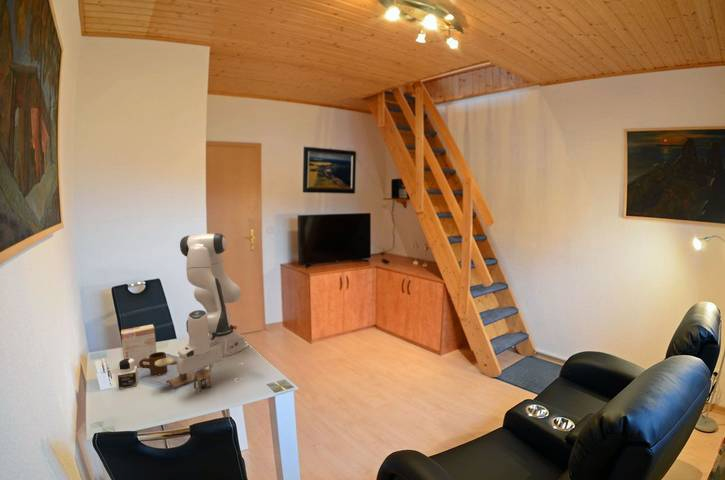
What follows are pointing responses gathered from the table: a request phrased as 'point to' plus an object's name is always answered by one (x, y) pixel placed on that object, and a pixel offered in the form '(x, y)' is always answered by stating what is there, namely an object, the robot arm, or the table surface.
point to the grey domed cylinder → (203, 384)
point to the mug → (152, 359)
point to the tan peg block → (202, 377)
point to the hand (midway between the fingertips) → (201, 376)
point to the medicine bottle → (127, 374)
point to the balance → (177, 381)
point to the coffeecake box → (138, 343)
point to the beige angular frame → (238, 378)
